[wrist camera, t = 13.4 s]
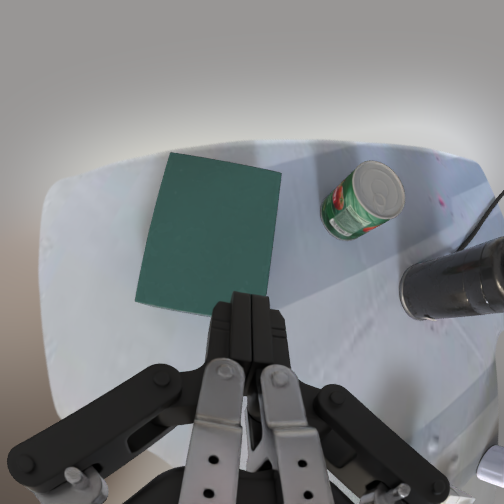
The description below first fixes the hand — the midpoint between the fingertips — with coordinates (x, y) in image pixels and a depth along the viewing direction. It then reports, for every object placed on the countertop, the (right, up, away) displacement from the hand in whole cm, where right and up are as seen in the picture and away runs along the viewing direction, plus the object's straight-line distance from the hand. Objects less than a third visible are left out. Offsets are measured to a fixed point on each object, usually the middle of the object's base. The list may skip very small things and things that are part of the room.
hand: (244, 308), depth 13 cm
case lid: (-4, +4, +18) cm, 19 cm away
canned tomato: (+14, +8, +33) cm, 37 cm away
